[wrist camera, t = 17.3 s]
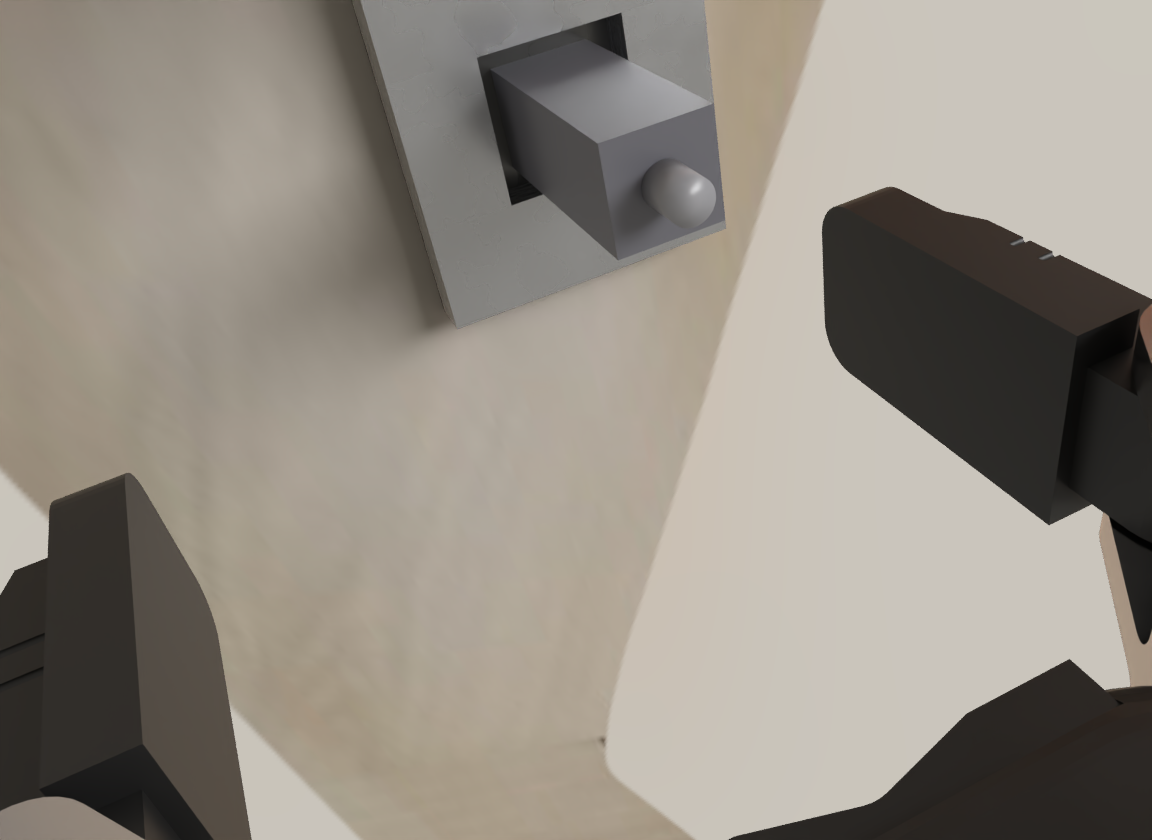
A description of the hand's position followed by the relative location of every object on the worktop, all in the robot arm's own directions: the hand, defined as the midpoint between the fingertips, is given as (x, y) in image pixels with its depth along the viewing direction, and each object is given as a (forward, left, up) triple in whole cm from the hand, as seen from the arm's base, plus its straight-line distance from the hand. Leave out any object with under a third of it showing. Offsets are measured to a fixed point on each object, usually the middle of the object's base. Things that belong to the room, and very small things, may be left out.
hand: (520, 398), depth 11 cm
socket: (+11, +9, -32) cm, 35 cm away
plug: (+11, +9, -32) cm, 35 cm away
